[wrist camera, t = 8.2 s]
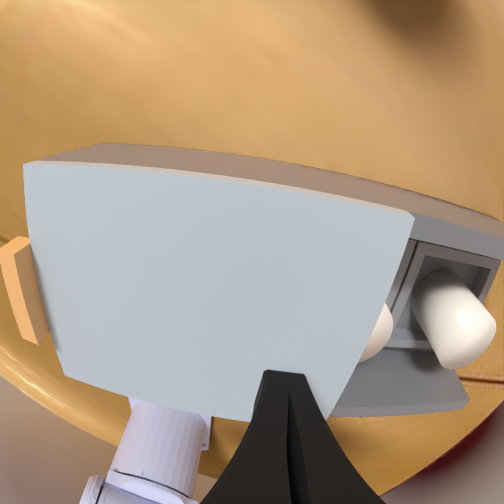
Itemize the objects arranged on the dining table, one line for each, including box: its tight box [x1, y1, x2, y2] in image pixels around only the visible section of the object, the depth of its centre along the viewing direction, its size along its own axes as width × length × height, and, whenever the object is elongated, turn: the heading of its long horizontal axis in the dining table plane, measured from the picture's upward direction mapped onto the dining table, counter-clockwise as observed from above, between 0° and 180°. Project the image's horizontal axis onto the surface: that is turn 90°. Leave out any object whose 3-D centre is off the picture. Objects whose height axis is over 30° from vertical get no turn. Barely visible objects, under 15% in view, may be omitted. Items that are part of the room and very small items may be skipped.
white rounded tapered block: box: [358, 303, 393, 363], centre depth 15 cm, size 4×4×5 cm
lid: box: [0, 161, 415, 422], centre depth 12 cm, size 12×16×2 cm
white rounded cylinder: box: [411, 270, 496, 370], centre depth 15 cm, size 4×4×5 cm
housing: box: [36, 143, 504, 417], centre depth 15 cm, size 12×26×6 cm, turn 82°
